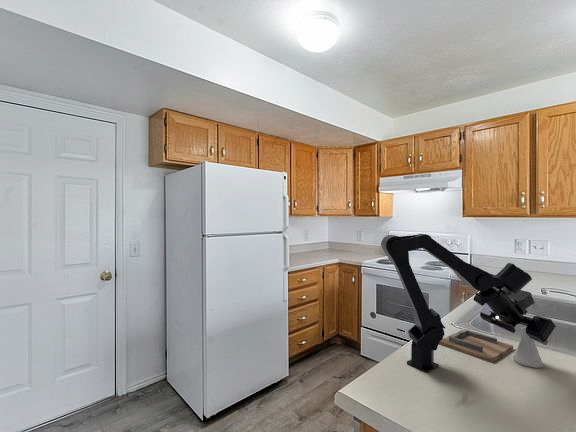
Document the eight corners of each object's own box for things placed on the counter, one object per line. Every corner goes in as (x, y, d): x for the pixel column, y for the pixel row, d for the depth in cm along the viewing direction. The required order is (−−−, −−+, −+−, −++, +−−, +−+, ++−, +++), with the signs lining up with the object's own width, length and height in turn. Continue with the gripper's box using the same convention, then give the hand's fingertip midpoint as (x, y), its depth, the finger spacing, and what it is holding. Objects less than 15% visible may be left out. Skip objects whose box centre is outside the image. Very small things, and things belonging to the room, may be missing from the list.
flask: (549, 370, 85) (549, 334, 85) (520, 367, 86) (520, 332, 86) (534, 358, 92) (534, 325, 92) (507, 356, 94) (507, 323, 94)
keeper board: (491, 362, 89) (491, 353, 89) (438, 344, 102) (438, 336, 102) (513, 349, 98) (513, 340, 98) (461, 333, 111) (461, 326, 111)
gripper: (550, 289, 79) (580, 327, 82) (486, 276, 97) (513, 307, 100) (527, 322, 77) (559, 360, 80) (466, 302, 95) (494, 333, 98)
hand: (529, 337), depth 89 cm, fingers open, 9 cm apart
